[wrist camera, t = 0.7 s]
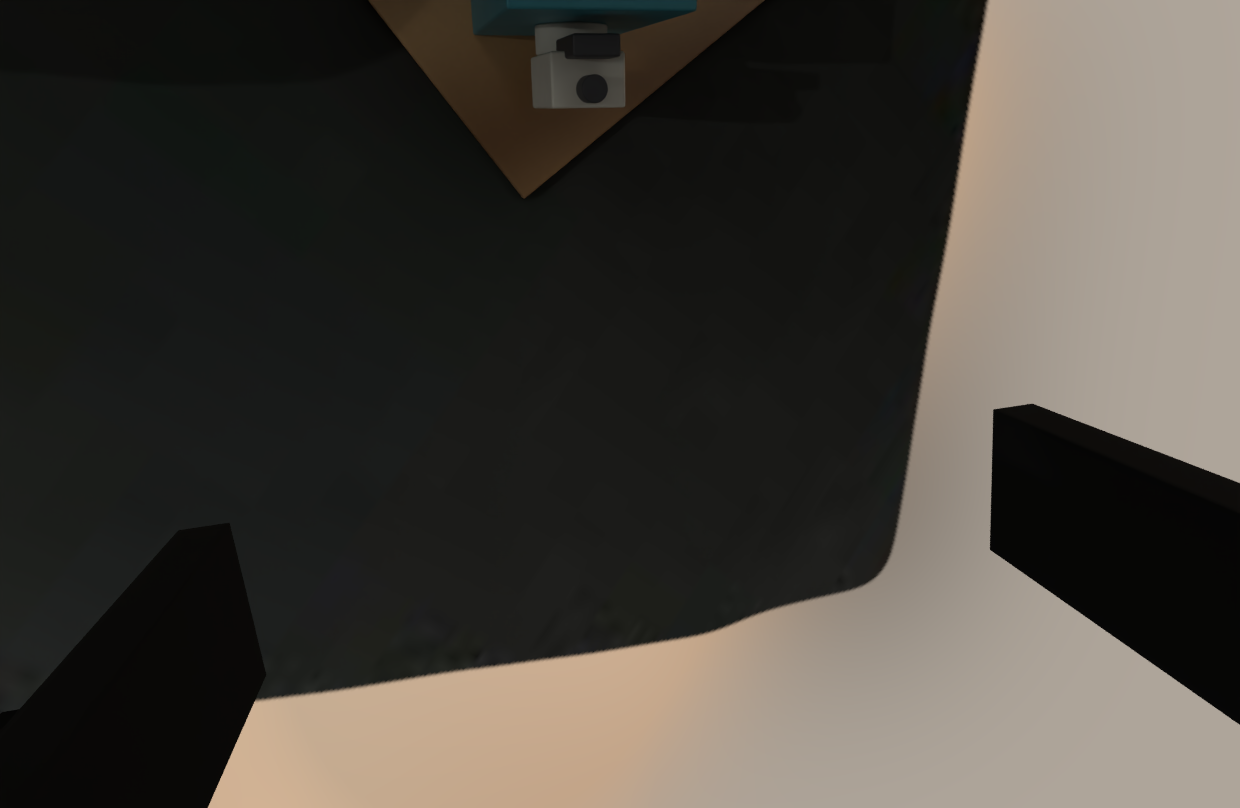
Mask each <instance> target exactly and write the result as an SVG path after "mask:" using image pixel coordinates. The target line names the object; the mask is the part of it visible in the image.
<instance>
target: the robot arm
mask: <svg viewBox="0 0 1240 808" xmlns="http://www.w3.org/2000/svg"><path fill="white" fill-rule="evenodd" d="M991 491H992V492H991V530H990V534H991V535H990V550H991V551H993V552H994V553H995V554H997V555H998V556H1000V557H1001V558H1003V559H1005V561H1007V562H1009V563H1010V564H1012V565H1013V566H1014V567H1015V568H1017V569H1018V570H1020V571H1021V572H1023V573H1024V574H1026V575H1027V576H1028V577H1030V578H1031V579H1033V580H1034V581H1036V582H1037V583H1038V584H1040V585H1041V586H1043V587H1044V588H1045V589H1047V590H1048V591H1050V592H1051V593H1053V594H1054V595H1056V596H1057V597H1058V598H1060V599H1061V600H1063V601H1064V602H1065V603H1067V604H1068V605H1070V606H1071V607H1073V608H1074V609H1076V610H1077V611H1079V612H1080V613H1081V614H1083V615H1084V616H1085V617H1087V618H1088V619H1090V620H1091V621H1093V622H1094V623H1095V624H1097V625H1098V626H1100V627H1101V628H1103V629H1104V630H1105V631H1107V632H1108V633H1110V634H1111V635H1113V636H1114V637H1115V638H1117V639H1118V640H1120V641H1121V642H1123V643H1124V644H1125V645H1127V646H1129V647H1130V648H1131V649H1133V650H1134V651H1135V652H1137V653H1138V654H1140V655H1141V656H1142V657H1144V658H1145V659H1147V660H1148V661H1150V662H1151V663H1152V664H1154V665H1155V666H1157V667H1158V668H1160V669H1161V670H1163V671H1164V672H1165V673H1167V674H1168V675H1170V676H1171V677H1173V678H1174V679H1175V680H1177V681H1178V682H1180V683H1181V684H1182V685H1184V686H1185V687H1187V688H1188V689H1190V690H1191V691H1192V692H1194V693H1195V694H1197V695H1198V696H1200V697H1201V698H1202V699H1204V700H1205V701H1207V702H1208V703H1210V704H1211V705H1212V706H1214V707H1215V708H1217V709H1218V710H1220V711H1221V712H1223V713H1224V714H1225V715H1227V716H1228V717H1230V718H1231V719H1232V720H1234V721H1235V722H1237V723H1238V724H1240V483H1238V482H1235V481H1233V480H1230V479H1227V478H1225V477H1222V476H1220V475H1217V474H1215V473H1211V472H1209V471H1207V470H1204V469H1201V468H1199V467H1196V466H1193V465H1191V464H1188V463H1186V462H1183V461H1181V460H1178V459H1175V458H1173V457H1170V456H1168V455H1165V454H1162V453H1160V452H1157V451H1154V450H1152V449H1149V448H1147V447H1144V446H1141V445H1139V444H1136V443H1134V442H1131V441H1128V440H1126V439H1123V438H1121V437H1118V436H1115V435H1113V434H1110V433H1107V432H1105V431H1102V430H1099V429H1097V428H1094V427H1092V426H1089V425H1087V424H1084V423H1081V422H1079V421H1076V420H1073V419H1071V418H1068V417H1066V416H1063V415H1061V414H1058V413H1055V412H1052V411H1050V410H1048V409H1045V408H1042V407H1040V406H1037V405H1034V404H1027V405H1021V406H1014V407H1008V408H1001V409H994V410H993V449H992V490H991ZM265 676H266V672H265V668H264V664H263V660H262V655H261V651H260V647H259V643H258V639H257V635H256V631H255V626H254V622H253V618H252V614H251V610H250V606H249V602H248V598H247V593H246V589H245V585H244V581H243V577H242V573H241V569H240V564H239V560H238V556H237V552H236V548H235V544H234V540H233V535H232V531H231V527H230V523H225V524H218V525H212V526H205V527H198V528H191V529H185V530H178V532H177V533H176V534H175V535H174V536H173V537H172V538H171V539H170V541H169V542H168V543H167V544H166V545H165V546H164V547H163V548H162V550H161V551H160V552H159V553H158V554H157V555H156V556H155V557H154V559H153V560H152V561H151V562H150V563H149V564H148V565H147V566H146V568H145V569H144V570H143V571H142V572H141V573H140V574H139V575H138V577H137V578H136V579H135V580H134V581H133V582H132V583H131V584H130V586H129V587H128V588H127V589H126V590H125V591H124V592H123V593H122V595H121V596H120V597H119V598H118V599H117V600H116V601H115V602H114V604H113V605H112V606H111V607H110V608H109V609H108V610H107V612H106V613H105V614H104V615H103V616H102V617H101V618H100V619H99V621H98V622H97V623H96V624H95V625H94V626H93V627H92V628H91V630H90V631H89V632H88V633H87V634H86V635H85V636H84V637H83V639H82V640H81V641H80V642H79V643H78V644H77V645H76V646H75V648H74V649H73V650H72V651H71V652H70V653H69V654H68V655H67V657H66V658H65V659H64V660H63V661H62V662H61V663H60V664H59V666H58V667H57V668H56V669H55V670H54V671H53V672H52V673H51V675H50V676H49V677H48V678H47V679H46V680H45V681H44V682H43V684H42V685H41V686H40V687H39V688H38V689H37V690H36V691H35V693H34V694H33V695H32V696H31V697H30V698H29V699H28V700H27V702H26V703H25V704H24V705H23V706H22V707H21V708H20V709H19V710H13V711H7V712H2V713H1V714H0V808H208V806H209V803H210V801H211V799H212V797H213V794H214V792H215V790H216V787H217V785H218V783H219V781H220V778H221V776H222V774H223V772H224V769H225V767H226V765H227V763H228V760H229V758H230V756H231V753H232V751H233V749H234V747H235V744H236V742H237V740H238V737H239V735H240V733H241V730H242V728H243V726H244V724H245V722H246V719H247V717H248V715H249V713H250V710H251V708H252V706H253V704H254V701H255V699H256V697H257V694H258V692H259V690H260V688H261V685H262V683H263V681H264V679H265Z"/></svg>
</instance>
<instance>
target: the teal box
mask: <svg viewBox="0 0 1240 808" xmlns="http://www.w3.org/2000/svg"><path fill="white" fill-rule="evenodd" d="M696 9H697V0H471V11H472V25H473V34H474V35H522V36H535V45H536V55H537V56H535V57H532V58H531V77H532V98H533V107H534V108H550V109H558V108H617V107H625V53H624V52H623V51H621V44H620V34H622V33H625V32H629V31H632V30H635V29H639V28H642V27H645V26H649V25H652V24H655V23H658V22H662V21H665V20H668V19H672V18H675V17H678V16H681V15H685V14H688V13H691V12H694V11H696Z"/></svg>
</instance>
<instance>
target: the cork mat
mask: <svg viewBox="0 0 1240 808" xmlns="http://www.w3.org/2000/svg"><path fill="white" fill-rule="evenodd" d="M368 1H369V2H370V4H371V5H372V6H373V8H374V9H375V10H376V11H377V13H378V14H379V15H380V17H381V18H382V19H383V20H384V22H385V23H386V24H387V25H388V27H389V28H390V29H391V31H392V32H393V33H394V34H395V36H396V37H397V38H398V40H399V41H400V42H401V43H402V45H403V46H404V47H405V49H406V50H407V51H408V52H409V54H410V55H411V56H412V57H413V59H414V60H415V61H416V63H417V64H418V65H419V66H420V68H421V69H422V70H423V72H424V73H425V74H426V75H427V77H428V78H429V79H430V80H431V82H432V83H433V84H434V86H435V87H436V88H437V89H438V91H439V92H440V93H441V95H442V96H443V97H444V98H445V100H446V101H447V102H448V103H449V105H450V106H451V107H452V109H453V110H454V111H455V112H456V114H457V115H458V116H459V118H460V119H461V120H462V121H463V123H464V124H465V125H466V126H467V128H468V129H469V130H470V132H471V133H472V134H473V135H474V137H475V138H476V139H477V141H478V142H479V143H480V144H481V146H482V147H483V148H484V149H485V151H486V152H487V153H488V155H489V156H490V157H491V158H492V160H493V161H494V162H495V164H496V165H497V166H498V167H499V169H500V170H501V171H502V172H503V174H504V175H505V176H506V178H507V179H508V180H509V181H510V183H511V184H512V185H513V187H514V188H515V189H516V190H517V192H518V193H519V194H520V196H521V197H522V198H526V197H527V196H528V195H530V194H531V193H532V192H533V191H535V190H536V189H537V188H538V187H539V186H541V185H542V184H543V183H544V182H545V181H547V180H548V179H549V178H550V177H551V176H553V175H554V174H555V173H556V172H558V171H559V170H560V169H561V168H562V167H564V166H565V165H566V164H567V163H568V162H570V161H571V160H572V159H573V158H574V157H576V156H577V155H578V154H579V153H581V152H582V151H583V150H584V149H585V148H587V147H588V146H589V145H590V144H591V143H593V142H594V141H595V140H596V139H597V138H599V137H600V136H601V135H602V134H604V133H605V132H606V131H607V130H608V129H610V128H611V127H612V126H613V125H614V124H616V123H617V122H618V121H619V120H620V119H622V118H623V117H624V116H625V115H627V114H628V113H629V112H630V111H631V110H633V109H634V108H635V107H636V106H637V105H639V104H640V103H641V102H642V101H643V100H645V99H646V98H647V97H648V96H650V95H651V94H652V93H653V92H654V91H656V90H657V89H658V88H659V87H660V86H662V85H663V84H664V83H665V82H666V81H668V80H669V79H670V78H671V77H673V76H674V75H675V74H676V73H677V72H679V71H680V70H681V69H682V68H683V67H685V66H686V65H687V64H688V63H689V62H691V61H692V60H693V59H694V58H696V57H697V56H698V55H699V54H700V53H702V52H703V51H704V50H705V49H706V48H708V47H709V46H710V45H711V44H712V43H714V42H715V41H716V40H717V39H719V38H720V37H721V36H722V35H723V34H725V33H726V32H727V31H728V30H729V29H731V28H732V27H733V26H734V25H735V24H737V23H738V22H739V21H740V20H742V19H743V18H744V17H745V16H746V15H748V14H749V13H750V12H751V11H752V10H754V9H755V8H756V7H757V6H758V5H760V4H761V3H762V2H763V1H765V0H697V9H696V11H694V12H691V13H688V14H685V15H681V16H678V17H675V18H672V19H668V20H665V21H662V22H658V23H655V24H652V25H649V26H645V27H642V28H639V29H635V30H632V31H629V32H625V33H622V34H620V44H621V51H623V52H624V53H625V107H617V108H558V109H550V108H534V107H533V98H532V77H531V58H532V57H535V56H537V55H536V45H535V36H522V35H474V34H473V25H472V11H471V0H368Z"/></svg>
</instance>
